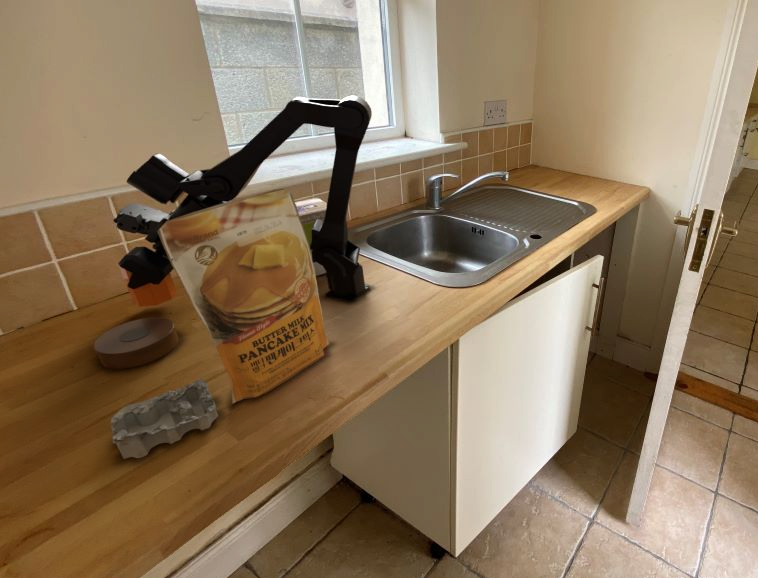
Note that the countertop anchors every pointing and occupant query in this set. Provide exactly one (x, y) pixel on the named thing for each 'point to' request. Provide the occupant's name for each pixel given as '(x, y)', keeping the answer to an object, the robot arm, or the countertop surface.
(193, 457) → the countertop surface
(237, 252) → the pancake mix bag
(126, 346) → the walnut ring base
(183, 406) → the egg carton
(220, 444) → the countertop surface
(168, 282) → the orange faceted cup
